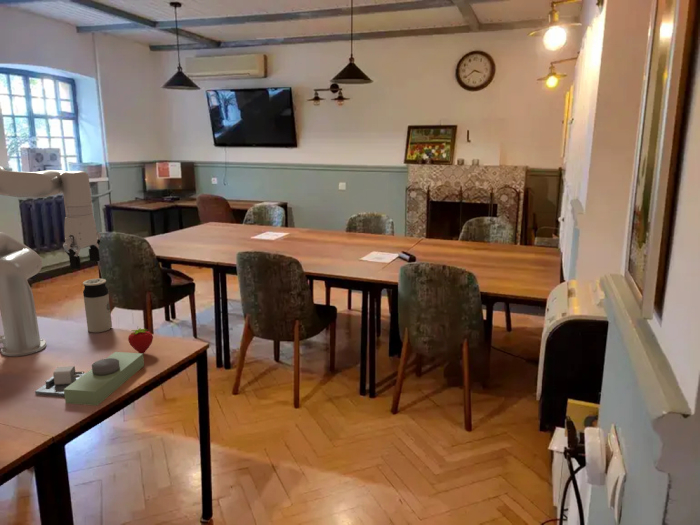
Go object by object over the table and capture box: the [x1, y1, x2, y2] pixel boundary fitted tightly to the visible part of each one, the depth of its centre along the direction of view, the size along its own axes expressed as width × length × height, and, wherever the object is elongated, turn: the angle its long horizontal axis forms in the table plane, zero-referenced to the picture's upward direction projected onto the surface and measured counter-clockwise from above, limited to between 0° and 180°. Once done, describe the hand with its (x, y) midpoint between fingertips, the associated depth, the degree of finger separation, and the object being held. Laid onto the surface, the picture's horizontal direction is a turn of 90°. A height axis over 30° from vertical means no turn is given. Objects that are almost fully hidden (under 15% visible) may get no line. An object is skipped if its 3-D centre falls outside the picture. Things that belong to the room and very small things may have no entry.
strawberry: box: [127, 327, 154, 355], centre depth 166 cm, size 6×8×10 cm
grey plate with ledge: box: [34, 372, 86, 398], centre depth 146 cm, size 10×12×2 cm
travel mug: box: [82, 278, 113, 334], centre depth 185 cm, size 8×8×18 cm
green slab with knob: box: [64, 351, 145, 406], centre depth 147 cm, size 9×24×6 cm, turn 173°
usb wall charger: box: [52, 365, 85, 385], centre depth 146 cm, size 4×7×4 cm, turn 100°
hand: (85, 264), depth 165 cm, fingers open, 9 cm apart
